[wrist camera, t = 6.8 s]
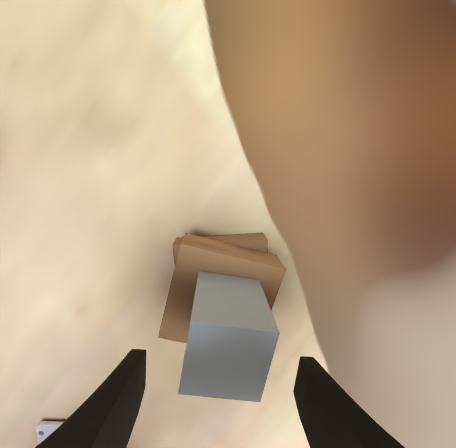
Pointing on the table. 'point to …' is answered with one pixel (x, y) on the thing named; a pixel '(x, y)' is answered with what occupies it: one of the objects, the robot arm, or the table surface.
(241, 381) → the slate-blue block
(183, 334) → the upper walnut slab
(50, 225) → the table surface
